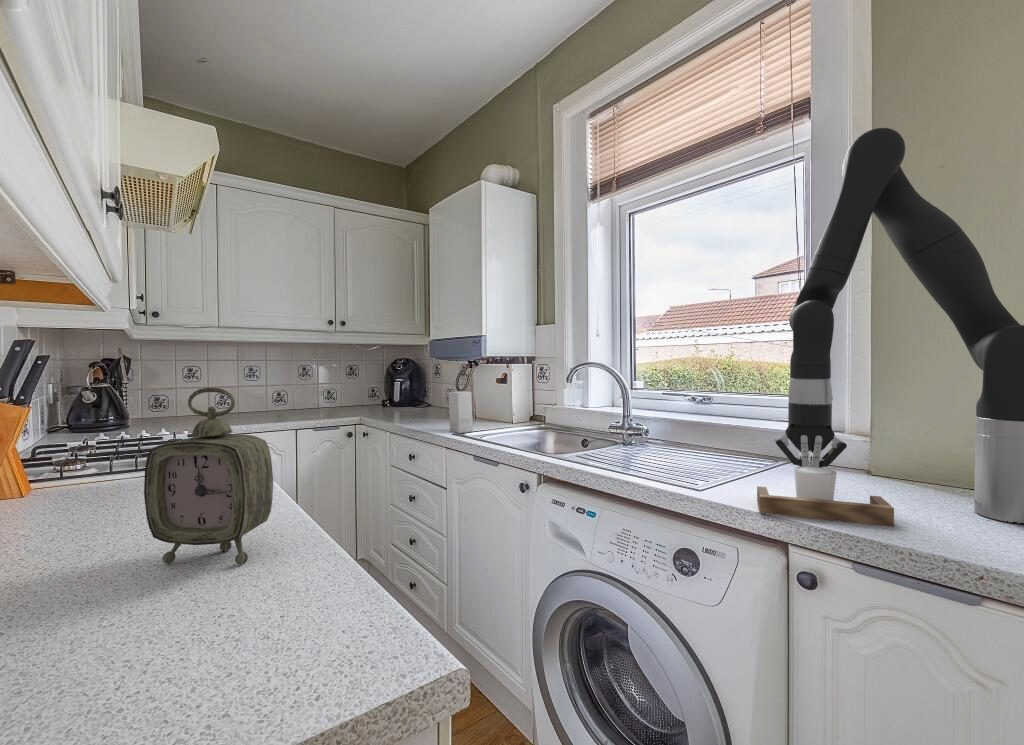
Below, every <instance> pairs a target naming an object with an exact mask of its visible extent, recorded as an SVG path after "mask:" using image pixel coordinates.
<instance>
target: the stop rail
mask: <svg viewBox="0 0 1024 745" xmlns="http://www.w3.org/2000/svg"><path fill="white" fill-rule="evenodd" d="M756 488H757V489H756V503H757V502H758V503H757V507H758V511H759V513H760V514H766V513H768V514H769V515H776V514H779V515H780V516H786V515H787V517H796V516H797V517H798V518H808V519H818V520H827V521H828V520H829V521H837V522H838V521H839V522H846V523H847V522H848V523H849V522H850V523H858V524H867V525H877V526H888V527H894V526H895V508H894V507H893V506H892V505H891V504H890V503H889V502H888V501H887V500H885V499H884V498H883V497H882V496H880V495H879V496H878V495H869V503H866V502H865V503H863V502H851V501H843V500H842V501H841V500H833V501H831V500H820V499H808V498H797V496H796V497H794V496H786V495H785V496H783V495H772V494H771V495H770V494H769V490H768V488H767V486H759V485H757V486H756ZM768 514H767V515H768ZM779 515H778V516H779Z"/></svg>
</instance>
